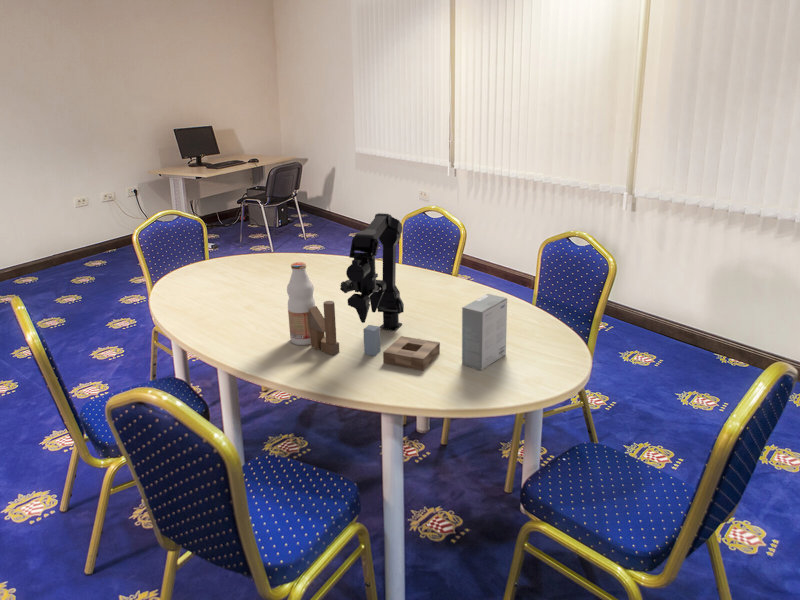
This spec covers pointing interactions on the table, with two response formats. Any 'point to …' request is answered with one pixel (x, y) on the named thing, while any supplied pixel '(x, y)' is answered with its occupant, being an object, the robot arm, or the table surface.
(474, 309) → the hard drive box
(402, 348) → the mortise block
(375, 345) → the tenon peg
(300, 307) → the fruit juice
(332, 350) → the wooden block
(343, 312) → the table surface
